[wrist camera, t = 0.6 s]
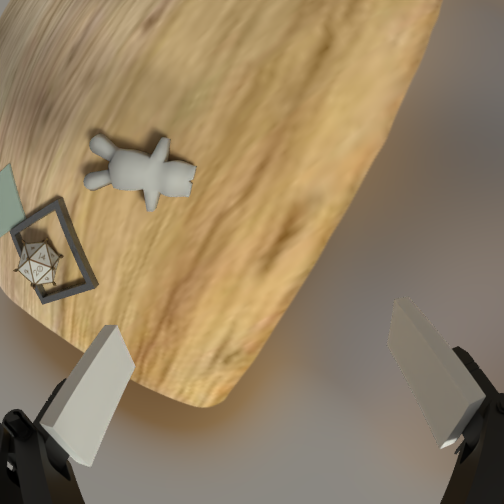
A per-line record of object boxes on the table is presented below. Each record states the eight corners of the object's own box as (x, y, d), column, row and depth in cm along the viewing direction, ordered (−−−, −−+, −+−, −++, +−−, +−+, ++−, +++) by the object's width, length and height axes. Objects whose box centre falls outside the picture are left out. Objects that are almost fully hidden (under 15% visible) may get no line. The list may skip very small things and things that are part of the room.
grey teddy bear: (182, 221, 33) (75, 199, 31) (187, 211, 38) (91, 191, 35) (200, 145, 30) (86, 126, 27) (203, 144, 35) (101, 127, 32)
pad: (-15, 188, 35) (-17, 188, 35) (10, 163, 34) (8, 164, 33) (0, 237, 39) (-2, 238, 38) (26, 218, 37) (24, 219, 37)
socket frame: (14, 228, 38) (9, 231, 37) (62, 197, 36) (57, 199, 35) (46, 300, 43) (42, 304, 42) (99, 284, 41) (94, 288, 40)
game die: (62, 237, 42) (43, 221, 33) (75, 281, 42) (57, 274, 33) (24, 254, 39) (0, 242, 30) (36, 298, 39) (12, 295, 29)
